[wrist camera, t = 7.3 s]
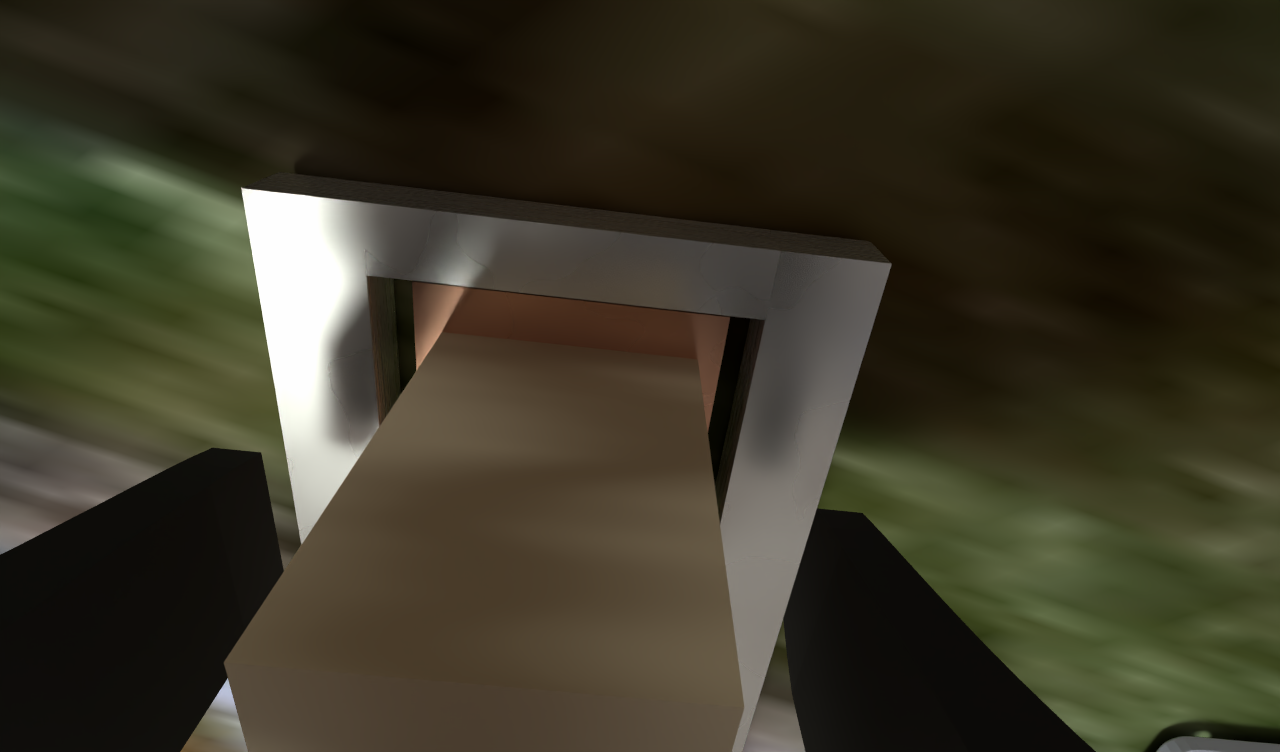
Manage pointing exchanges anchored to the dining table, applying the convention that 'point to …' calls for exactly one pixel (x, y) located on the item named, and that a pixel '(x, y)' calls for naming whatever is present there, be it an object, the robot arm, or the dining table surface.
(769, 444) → the white rectangular slotted frame
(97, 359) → the dining table surface
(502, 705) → the block
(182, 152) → the dining table surface
